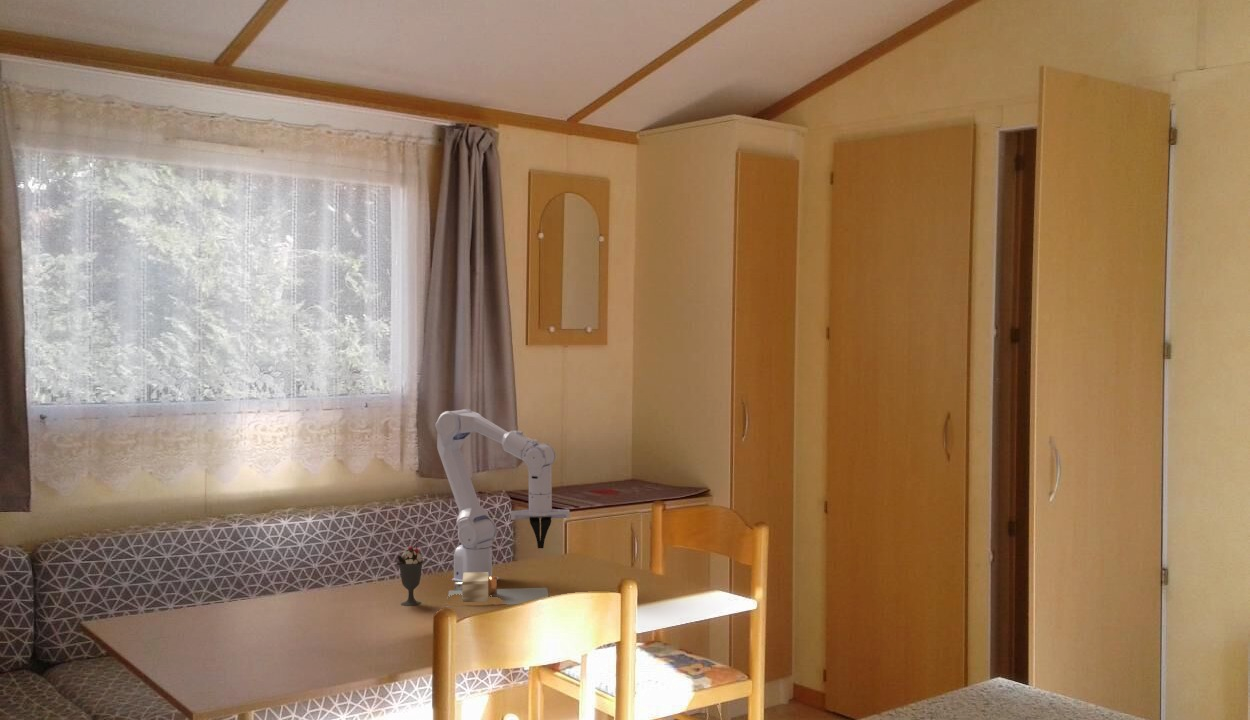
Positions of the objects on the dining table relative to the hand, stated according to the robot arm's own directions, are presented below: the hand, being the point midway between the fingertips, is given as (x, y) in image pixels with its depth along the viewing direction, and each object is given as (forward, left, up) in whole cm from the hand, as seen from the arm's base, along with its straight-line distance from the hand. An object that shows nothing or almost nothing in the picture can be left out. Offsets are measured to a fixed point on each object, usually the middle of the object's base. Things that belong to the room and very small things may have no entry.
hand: (540, 547), depth 280 cm
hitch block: (-6, -18, -10) cm, 21 cm away
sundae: (-15, -30, -10) cm, 35 cm away
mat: (-2, -14, -10) cm, 17 cm away
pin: (-6, -17, -9) cm, 21 cm away
